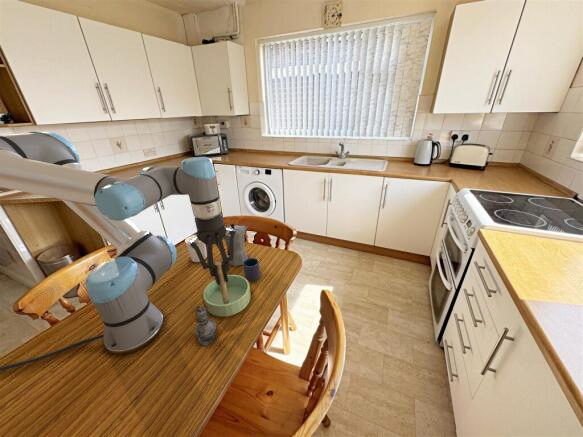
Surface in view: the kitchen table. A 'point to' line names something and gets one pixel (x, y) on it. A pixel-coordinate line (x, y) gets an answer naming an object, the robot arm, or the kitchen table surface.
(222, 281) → the stirring stick
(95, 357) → the kitchen table surface
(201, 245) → the white cup
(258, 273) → the utensil pot
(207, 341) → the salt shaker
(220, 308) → the bowl
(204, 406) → the kitchen table surface
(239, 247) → the coffeepot
